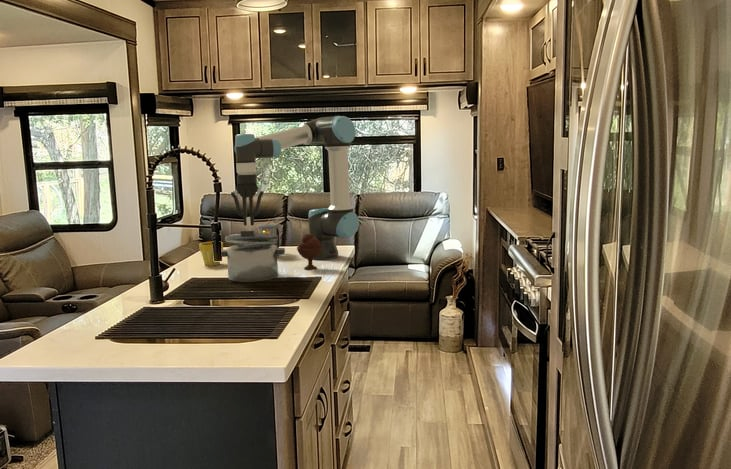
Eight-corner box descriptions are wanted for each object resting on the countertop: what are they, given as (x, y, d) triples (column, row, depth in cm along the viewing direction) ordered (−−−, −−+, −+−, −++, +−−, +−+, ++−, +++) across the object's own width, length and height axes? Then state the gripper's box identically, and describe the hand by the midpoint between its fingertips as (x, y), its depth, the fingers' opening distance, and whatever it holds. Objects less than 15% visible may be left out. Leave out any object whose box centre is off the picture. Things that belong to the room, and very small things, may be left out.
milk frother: (276, 257, 292) (275, 226, 290) (243, 258, 293) (242, 227, 290) (281, 252, 306) (280, 223, 304) (250, 253, 307) (248, 223, 305)
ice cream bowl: (293, 270, 260) (291, 235, 258) (305, 265, 270) (304, 231, 268) (315, 272, 256) (314, 236, 254) (327, 266, 266) (326, 232, 264)
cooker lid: (279, 242, 260) (279, 233, 261) (274, 236, 237) (274, 227, 237) (229, 244, 259) (229, 235, 260) (219, 238, 236) (219, 228, 236)
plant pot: (220, 266, 274) (219, 244, 272) (197, 266, 274) (196, 245, 273) (226, 262, 284) (225, 241, 283) (204, 262, 284) (202, 241, 283)
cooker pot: (286, 270, 261) (285, 242, 259) (283, 280, 241) (282, 250, 240) (225, 272, 260) (223, 244, 258) (216, 283, 240) (215, 252, 238)
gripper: (264, 173, 244) (266, 231, 247) (231, 174, 244) (234, 232, 247) (262, 173, 237) (265, 234, 240) (228, 174, 236) (231, 235, 239)
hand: (249, 233), depth 243 cm, fingers closed
